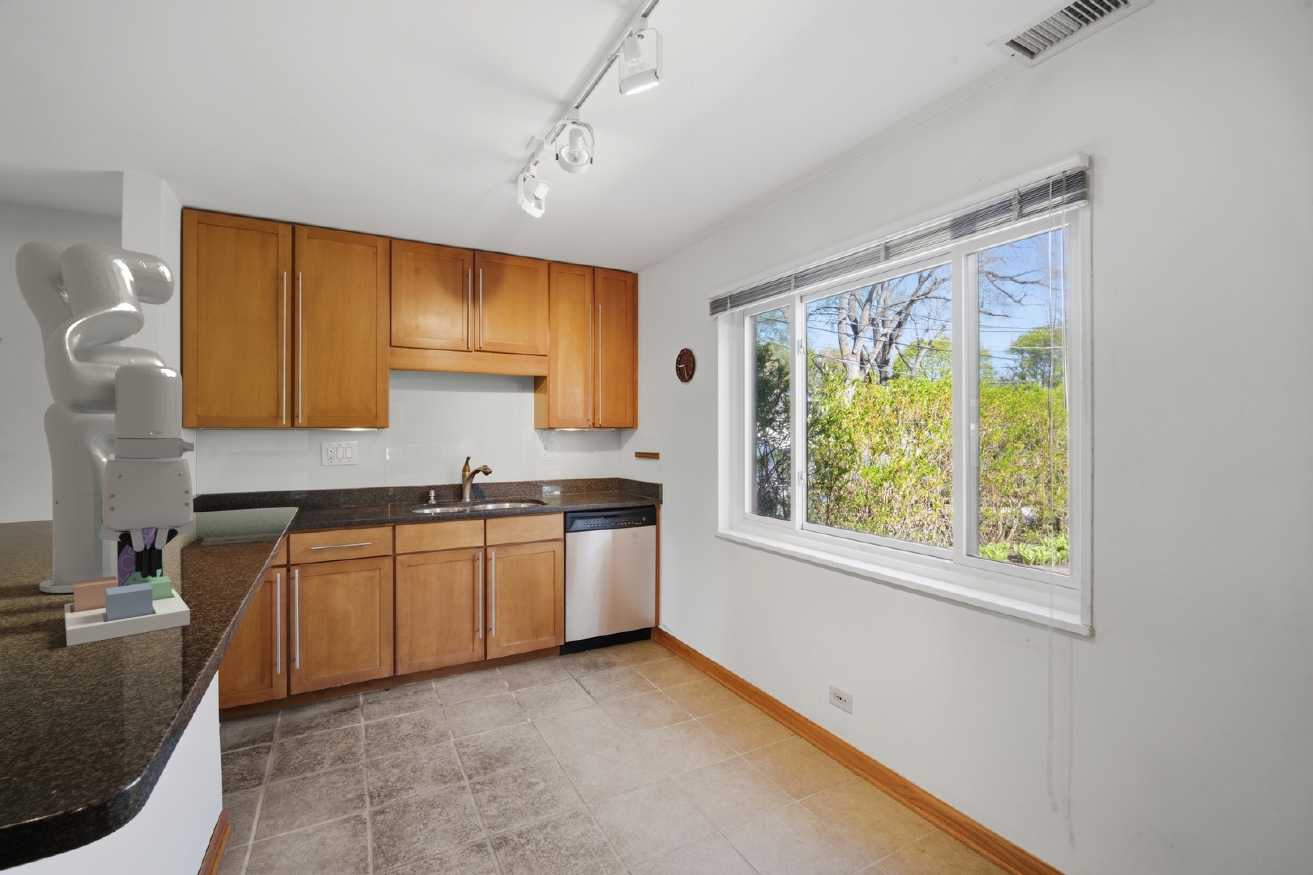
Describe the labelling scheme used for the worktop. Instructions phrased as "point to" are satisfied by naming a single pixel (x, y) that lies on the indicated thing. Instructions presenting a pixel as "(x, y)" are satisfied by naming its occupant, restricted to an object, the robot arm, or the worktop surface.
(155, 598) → the sage key
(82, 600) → the terracotta key
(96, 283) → the robot arm
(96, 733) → the worktop surface
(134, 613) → the slate key
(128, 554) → the spray can
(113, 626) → the key console
